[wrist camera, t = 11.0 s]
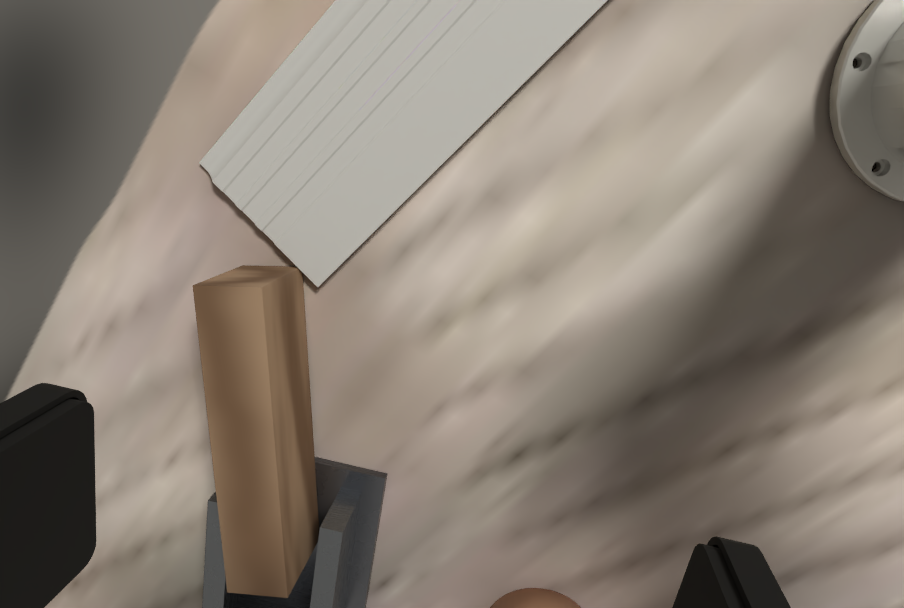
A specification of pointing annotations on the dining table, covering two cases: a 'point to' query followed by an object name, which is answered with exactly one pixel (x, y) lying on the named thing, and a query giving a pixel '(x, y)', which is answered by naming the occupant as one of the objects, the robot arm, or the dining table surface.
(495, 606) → the brown round cylinder
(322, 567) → the bracket
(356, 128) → the baseboard molding
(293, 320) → the rail
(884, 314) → the dining table surface
